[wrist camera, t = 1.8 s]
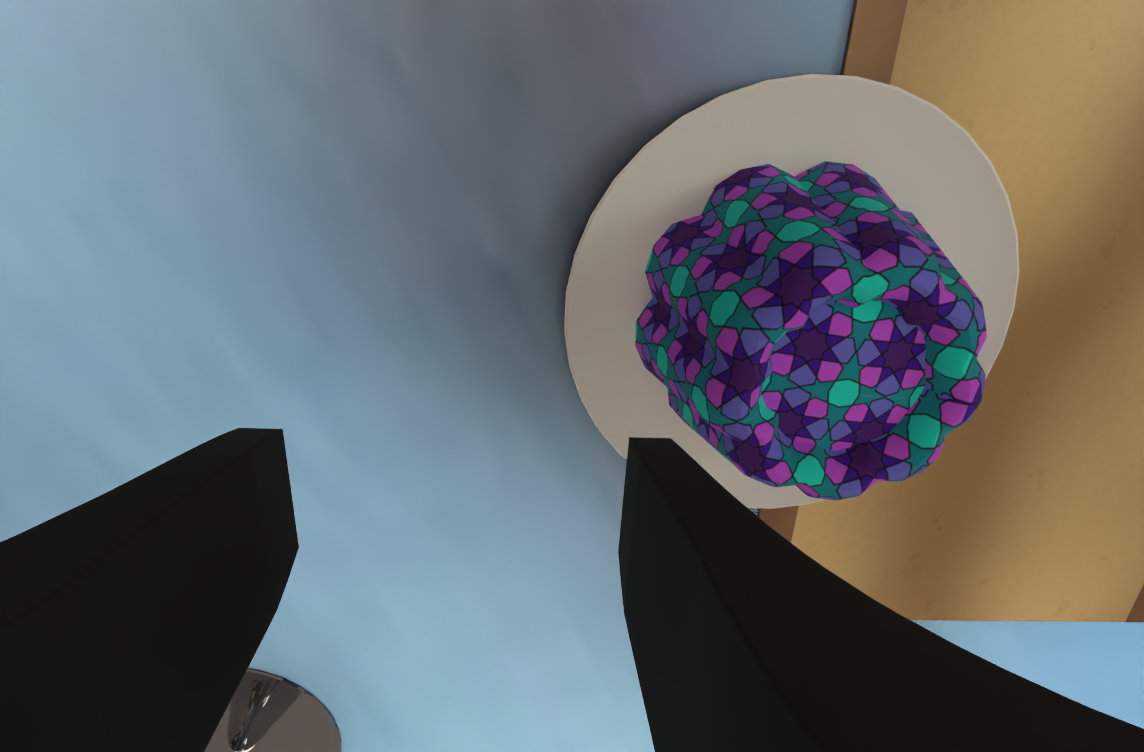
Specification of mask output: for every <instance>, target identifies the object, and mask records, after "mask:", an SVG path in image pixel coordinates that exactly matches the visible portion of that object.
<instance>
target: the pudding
mask: <svg viewBox="0 0 1144 752" xmlns="http://www.w3.org/2000/svg"><path fill="white" fill-rule="evenodd" d="M1018 278H1019V253H1018V233H1017V229H1016V225H1015V221H1014V217H1013V213H1012V209H1011V205H1010V201H1009V197H1008V195H1007V193H1006V191H1005V189H1004V187H1003V184H1002V182H1001V180H1000V178H999V176H998V174H997V172H996V170H995V168H994V166H993V164H992V162H991V161H990V159H989V158H988V157H987V156H986V154H985V153H984V152H983V150H982V149H981V148H980V147H979V145H978V144H977V143H976V142H975V140H974V139H973V138H972V137H971V135H970V134H969V133H968V132H967V130H965V129H964V128H963V127H962V126H960V125H959V124H958V123H957V122H955V121H954V120H953V119H952V118H950V117H949V116H948V115H947V114H945V113H944V112H943V111H942V110H940V109H939V108H938V107H937V106H935V105H934V104H932V103H930V102H928V101H925V100H923V99H921V98H919V97H917V96H915V95H913V94H911V93H909V92H907V91H905V90H903V89H901V88H899V87H897V86H893V85H889V84H885V83H881V82H877V81H873V80H869V79H865V78H861V77H858V76H844V75H824V74H807V75H800V76H793V77H786V78H779V79H771V80H765V81H762V82H759V83H756V84H753V85H750V86H747V87H744V88H741V89H738V90H735V91H732V92H729V93H726V94H723V95H721V96H719V97H717V98H715V99H714V100H712V101H710V102H708V103H706V104H704V105H702V106H701V107H699V108H697V109H695V110H693V111H691V112H689V113H688V114H686V115H684V116H682V117H680V118H679V119H678V120H677V121H675V122H674V123H673V124H671V125H670V126H669V127H668V128H666V129H665V130H664V131H662V132H661V133H660V134H659V135H657V136H656V137H655V138H654V139H652V140H651V141H650V142H648V143H647V144H646V145H645V146H644V147H643V148H642V149H641V150H640V151H639V152H638V153H637V154H636V156H635V157H634V158H633V159H632V160H631V161H630V162H629V163H628V164H627V165H626V166H625V168H624V169H623V170H622V171H621V172H620V173H619V174H618V175H617V176H616V177H615V179H614V180H613V182H612V183H611V185H610V186H609V188H608V189H607V191H606V193H605V194H604V196H603V197H602V199H601V200H600V202H599V203H598V205H597V207H596V208H595V210H594V211H593V213H592V214H591V216H590V219H589V221H588V223H587V226H586V228H585V230H584V233H583V235H582V238H581V240H580V242H579V245H578V247H577V249H576V252H575V254H574V259H573V263H572V268H571V272H570V276H569V281H568V285H567V290H566V300H565V323H564V333H565V340H566V347H567V354H568V361H569V367H570V370H571V373H572V376H573V379H574V382H575V384H576V387H577V390H578V393H579V396H580V399H581V401H582V403H583V404H584V406H585V408H586V410H587V411H588V413H589V415H590V417H591V418H592V420H593V422H594V424H595V425H596V427H597V429H598V430H599V431H600V432H601V434H602V435H603V436H604V437H605V438H606V439H607V441H608V442H609V443H610V444H611V445H612V446H613V448H614V449H615V450H616V451H617V452H618V453H619V454H620V455H621V456H622V457H623V458H625V459H626V460H627V453H628V443H629V437H642V438H671V439H672V440H673V441H675V442H676V443H677V444H678V445H679V446H680V447H681V448H682V449H683V450H684V451H686V452H687V453H688V454H689V455H690V456H691V457H692V458H693V459H694V460H695V461H696V462H697V463H698V464H699V465H700V466H701V467H703V468H704V469H705V470H706V471H707V472H708V473H709V474H710V475H711V476H712V477H713V478H714V479H715V480H716V481H718V482H719V483H720V484H721V485H722V486H723V487H724V488H725V489H726V490H727V491H729V492H730V493H731V494H732V495H733V496H734V497H735V498H736V499H738V500H739V501H740V502H741V503H742V504H743V505H745V506H746V507H747V508H766V509H774V508H782V507H790V506H799V505H807V504H811V503H815V502H818V501H822V500H826V499H828V500H836V501H838V500H843V499H847V498H852V497H857V496H860V495H861V494H862V493H863V492H865V491H866V490H867V489H868V488H870V487H871V486H872V485H873V484H875V483H876V482H877V481H899V482H902V481H904V480H906V479H908V478H910V477H912V476H914V475H917V474H919V473H921V472H923V471H924V470H925V469H926V468H927V467H928V466H929V465H930V464H931V463H932V462H933V461H935V460H936V459H937V458H938V457H939V456H940V452H941V449H942V446H943V442H944V439H945V435H946V434H947V433H949V432H951V431H953V430H954V429H956V428H958V427H959V426H961V425H963V424H964V423H966V422H968V421H969V420H970V418H971V417H972V415H973V414H974V412H975V410H976V409H977V407H978V406H979V404H980V403H981V401H982V396H983V390H984V385H985V380H986V378H987V376H988V374H989V372H990V370H991V368H992V366H993V364H994V362H995V360H996V358H997V356H998V354H999V352H1000V350H1001V348H1002V346H1003V343H1004V340H1005V337H1006V334H1007V331H1008V327H1009V324H1010V321H1011V318H1012V315H1013V312H1014V307H1015V300H1016V293H1017V285H1018Z"/></svg>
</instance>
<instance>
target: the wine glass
mask: <svg viewBox="0 0 1144 752" xmlns="http://www.w3.org/2000/svg"><path fill="white" fill-rule="evenodd" d="M204 752H341V739H340V734H339V730H338V727H337V725H336V723H335V721H334V719H333V717H332V716H331V715H330V713H329V712H328V711H327V710H326V708H325V707H324V706H323V705H322V704H321V703H320V702H319V701H318V700H317V699H316V698H315V697H313V696H312V695H311V694H310V693H308V692H307V691H305V690H303V689H302V688H300V687H299V686H297V685H295V684H293V683H291V682H289V681H287V680H285V679H283V678H280V677H277V676H274V675H271V674H268V673H265V672H260V671H255V670H250V669H247V670H246V672H245V674H244V676H243V678H242V680H241V682H240V684H239V686H238V688H237V690H236V691H235V693H234V695H233V697H232V699H231V701H230V703H229V705H228V707H227V709H226V711H225V713H224V715H223V717H222V719H221V720H220V722H219V724H218V726H217V728H216V730H215V732H214V734H213V736H212V738H211V740H210V742H209V744H208V746H207V748H206V749H205V751H204Z"/></svg>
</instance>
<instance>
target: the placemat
mask: <svg viewBox="0 0 1144 752" xmlns="http://www.w3.org/2000/svg"><path fill="white" fill-rule="evenodd" d="M842 75H844V76H858V77H861V78H865V79H869V80H873V81H877V82H881V83H885V84H889V85H893V86H897V87H899V88H901V89H903V90H905V91H907V92H909V93H911V94H913V95H915V96H917V97H919V98H921V99H923V100H925V101H928V102H930V103H932V104H934V105H935V106H937V107H938V108H939V109H940V110H942V111H943V112H944V113H945V114H947V115H948V116H949V117H950V118H952V119H953V120H954V121H955V122H957V123H958V124H959V125H960V126H962V127H963V128H964V129H965V130H967V132H968V133H969V134H970V135H971V137H972V138H973V139H974V140H975V142H976V143H977V144H978V145H979V147H980V148H981V149H982V150H983V152H984V153H985V154H986V156H987V157H988V158H989V159H990V161H991V162H992V164H993V166H994V168H995V170H996V172H997V174H998V176H999V178H1000V180H1001V182H1002V184H1003V187H1004V189H1005V191H1006V193H1007V195H1008V197H1009V201H1010V205H1011V209H1012V213H1013V217H1014V221H1015V225H1016V229H1017V233H1018V253H1019V278H1018V285H1017V293H1016V300H1015V307H1014V312H1013V315H1012V318H1011V321H1010V324H1009V327H1008V331H1007V334H1006V337H1005V340H1004V343H1003V346H1002V348H1001V350H1000V352H999V354H998V356H997V358H996V360H995V362H994V364H993V366H992V368H991V370H990V372H989V374H988V376H987V378H986V380H985V385H984V390H983V396H982V401H981V403H980V404H979V406H978V407H977V409H976V410H975V412H974V414H973V415H972V417H971V418H970V420H969V421H968V422H966V423H964V424H963V425H961V426H959V427H958V428H956V429H954V430H953V431H951V432H949V433H947V434H946V435H945V439H944V442H943V446H942V449H941V452H940V456H939V457H938V458H937V459H936V460H935V461H933V462H932V463H931V464H930V465H929V466H928V467H927V468H926V469H925V470H924V471H923V472H921V473H919V474H917V475H914V476H912V477H910V478H908V479H906V480H904V481H902V482H899V481H877V482H876V483H875V484H873V485H872V486H871V487H870V488H868V489H867V490H866V491H865V492H863V493H862V494H861V495H860V496H857V497H852V498H847V499H843V500H838V501H836V500H828V499H826V500H822V501H818V502H815V503H811V504H807V505H799V506H790V507H782V508H774V509H766V508H760V510H759V515H758V517H759V518H760V519H761V520H762V521H764V522H765V523H766V524H767V525H768V526H770V527H771V528H772V529H774V530H775V531H776V532H778V533H779V534H780V535H781V536H783V537H784V538H785V539H787V540H788V541H789V542H790V543H792V544H793V545H794V546H796V547H797V548H798V549H800V550H801V551H802V552H804V553H805V554H806V555H808V556H809V557H811V558H812V559H813V560H815V561H816V562H818V563H819V564H820V565H822V566H823V567H825V568H826V569H828V570H829V571H831V572H832V573H834V574H835V575H837V576H839V577H840V578H842V579H843V580H845V581H846V582H848V583H849V584H851V585H852V586H854V587H855V588H857V589H859V590H860V591H862V592H863V593H865V594H866V595H868V596H869V597H871V598H873V599H874V600H876V601H878V602H879V603H881V604H883V605H884V606H886V607H888V608H889V609H891V610H893V611H895V612H896V613H898V614H900V615H901V616H903V617H905V618H907V619H909V620H964V621H1082V622H1144V0H855V6H854V11H853V16H852V22H851V27H850V32H849V38H848V43H847V48H846V54H845V59H844V64H843V69H842Z"/></svg>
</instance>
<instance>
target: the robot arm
mask: <svg viewBox="0 0 1144 752" xmlns="http://www.w3.org/2000/svg"><path fill="white" fill-rule="evenodd" d="M298 548H299V546H298V539H297V531H296V524H295V517H294V509H293V502H292V495H291V487H290V480H289V473H288V465H287V458H286V451H285V443H284V436H283V429H256V428H238V429H235V430H232V431H230V432H227V433H225V434H222V435H220V436H218V437H216V438H213V439H211V440H209V441H207V442H205V443H203V444H201V445H199V446H197V447H195V448H193V449H191V450H189V451H187V452H185V453H183V454H181V455H179V456H177V457H175V458H173V459H171V460H169V461H167V462H165V463H164V464H162V465H160V466H158V467H156V468H154V469H152V470H150V471H148V472H146V473H144V474H142V475H140V476H138V477H136V478H134V479H132V480H130V481H128V482H126V483H124V484H123V485H121V486H119V487H117V488H115V489H113V490H111V491H109V492H107V493H105V494H103V495H101V496H99V497H97V498H94V499H92V500H90V501H88V502H86V503H84V504H82V505H80V506H78V507H75V508H73V509H71V510H69V511H67V512H65V513H63V514H61V515H59V516H56V517H54V518H52V519H50V520H48V521H46V522H44V523H42V524H40V525H37V526H35V527H33V528H31V529H29V530H27V531H25V532H23V533H21V534H18V535H16V536H14V537H11V538H9V539H7V540H5V541H2V542H0V752H204V751H205V749H206V748H207V746H208V744H209V742H210V740H211V738H212V736H213V734H214V732H215V730H216V728H217V726H218V724H219V722H220V720H221V719H222V717H223V715H224V713H225V711H226V709H227V707H228V705H229V703H230V701H231V699H232V697H233V695H234V693H235V691H236V690H237V688H238V686H239V684H240V682H241V680H242V678H243V676H244V674H245V672H246V670H247V668H248V666H249V664H250V663H251V661H252V659H253V657H254V655H255V653H256V651H257V649H258V647H259V645H260V643H261V641H262V639H263V637H264V635H265V633H266V631H267V629H268V627H269V625H270V623H271V621H272V619H273V617H274V615H275V613H276V611H277V609H278V606H279V603H280V600H281V598H282V595H283V592H284V589H285V587H286V584H287V581H288V578H289V575H290V572H291V569H292V566H293V563H294V560H295V557H296V554H297V551H298ZM618 553H619V564H620V576H621V587H622V596H623V606H624V614H625V619H626V623H627V628H628V633H629V637H630V642H631V646H632V651H633V656H634V660H635V665H636V669H637V673H638V678H639V682H640V687H641V691H642V696H643V700H644V705H645V709H646V713H647V718H648V722H649V727H650V731H651V736H652V740H653V745H654V749H655V752H1144V729H1142V728H1140V727H1137V726H1135V725H1132V724H1129V723H1127V722H1124V721H1122V720H1119V719H1117V718H1114V717H1112V716H1109V715H1107V714H1104V713H1102V712H1099V711H1096V710H1094V709H1091V708H1089V707H1087V706H1085V705H1082V704H1080V703H1078V702H1075V701H1073V700H1071V699H1068V698H1066V697H1064V696H1062V695H1060V694H1058V693H1055V692H1053V691H1051V690H1049V689H1047V688H1044V687H1042V686H1040V685H1038V684H1036V683H1033V682H1031V681H1029V680H1027V679H1025V678H1022V677H1020V676H1018V675H1016V674H1014V673H1012V672H1009V671H1007V670H1005V669H1003V668H1001V667H999V666H997V665H995V664H993V663H991V662H989V661H987V660H985V659H983V658H981V657H979V656H977V655H975V654H972V653H970V652H968V651H966V650H964V649H962V648H960V647H959V646H957V645H955V644H953V643H951V642H949V641H947V640H945V639H944V638H942V637H940V636H938V635H936V634H934V633H933V632H931V631H929V630H927V629H925V628H923V627H922V626H920V625H918V624H916V623H914V622H912V621H911V620H909V619H907V618H905V617H903V616H901V615H900V614H898V613H896V612H895V611H893V610H891V609H889V608H888V607H886V606H884V605H883V604H881V603H879V602H878V601H876V600H874V599H873V598H871V597H869V596H868V595H866V594H865V593H863V592H862V591H860V590H859V589H857V588H855V587H854V586H852V585H851V584H849V583H848V582H846V581H845V580H843V579H842V578H840V577H839V576H837V575H835V574H834V573H832V572H831V571H829V570H828V569H826V568H825V567H823V566H822V565H820V564H819V563H818V562H816V561H815V560H813V559H812V558H811V557H809V556H808V555H806V554H805V553H804V552H802V551H801V550H800V549H798V548H797V547H796V546H794V545H793V544H792V543H790V542H789V541H788V540H787V539H785V538H784V537H783V536H781V535H780V534H779V533H778V532H776V531H775V530H774V529H772V528H771V527H770V526H768V525H767V524H766V523H765V522H764V521H762V520H761V519H760V518H759V517H758V516H756V515H755V514H754V513H753V512H752V511H750V510H749V509H748V508H747V507H746V506H745V505H743V504H742V503H741V502H740V501H739V500H738V499H736V498H735V497H734V496H733V495H732V494H731V493H730V492H729V491H727V490H726V489H725V488H724V487H723V486H722V485H721V484H720V483H719V482H718V481H716V480H715V479H714V478H713V477H712V476H711V475H710V474H709V473H708V472H707V471H706V470H705V469H704V468H703V467H701V466H700V465H699V464H698V463H697V462H696V461H695V460H694V459H693V458H692V457H691V456H690V455H689V454H688V453H687V452H686V451H684V450H683V449H682V448H681V447H680V446H679V445H678V444H677V443H676V442H675V441H673V440H672V439H671V438H642V437H629V443H628V453H627V464H626V475H625V486H624V497H623V507H622V518H621V529H620V540H619V550H618Z"/></svg>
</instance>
